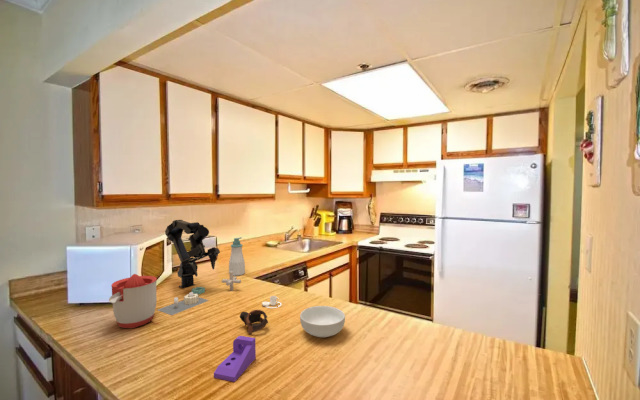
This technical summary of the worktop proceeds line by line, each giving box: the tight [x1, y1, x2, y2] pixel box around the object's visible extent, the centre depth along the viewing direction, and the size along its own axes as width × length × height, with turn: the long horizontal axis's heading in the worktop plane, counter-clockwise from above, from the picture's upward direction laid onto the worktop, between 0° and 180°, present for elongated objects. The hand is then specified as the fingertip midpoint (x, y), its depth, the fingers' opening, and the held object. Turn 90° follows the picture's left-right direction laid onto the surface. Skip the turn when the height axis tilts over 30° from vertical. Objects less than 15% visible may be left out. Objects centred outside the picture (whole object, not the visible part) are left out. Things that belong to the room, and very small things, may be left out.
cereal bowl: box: [299, 305, 346, 338], centre depth 111 cm, size 17×17×7 cm
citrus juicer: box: [108, 273, 157, 329], centre depth 118 cm, size 16×17×20 cm
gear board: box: [157, 291, 210, 316], centre depth 134 cm, size 11×19×6 cm, turn 150°
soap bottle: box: [228, 236, 246, 277], centre depth 186 cm, size 10×10×23 cm
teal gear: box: [191, 286, 206, 295], centre depth 151 cm, size 6×6×3 cm
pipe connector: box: [221, 271, 242, 292], centre depth 157 cm, size 10×10×10 cm
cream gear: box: [183, 293, 200, 305], centre depth 137 cm, size 6×6×3 cm
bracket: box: [213, 335, 257, 383], centre depth 89 cm, size 12×7×7 cm, turn 164°
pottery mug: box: [239, 309, 269, 335], centre depth 114 cm, size 12×10×8 cm
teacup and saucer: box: [261, 295, 283, 309], centre depth 137 cm, size 9×8×4 cm
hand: (205, 272), depth 149 cm, fingers open, 9 cm apart
